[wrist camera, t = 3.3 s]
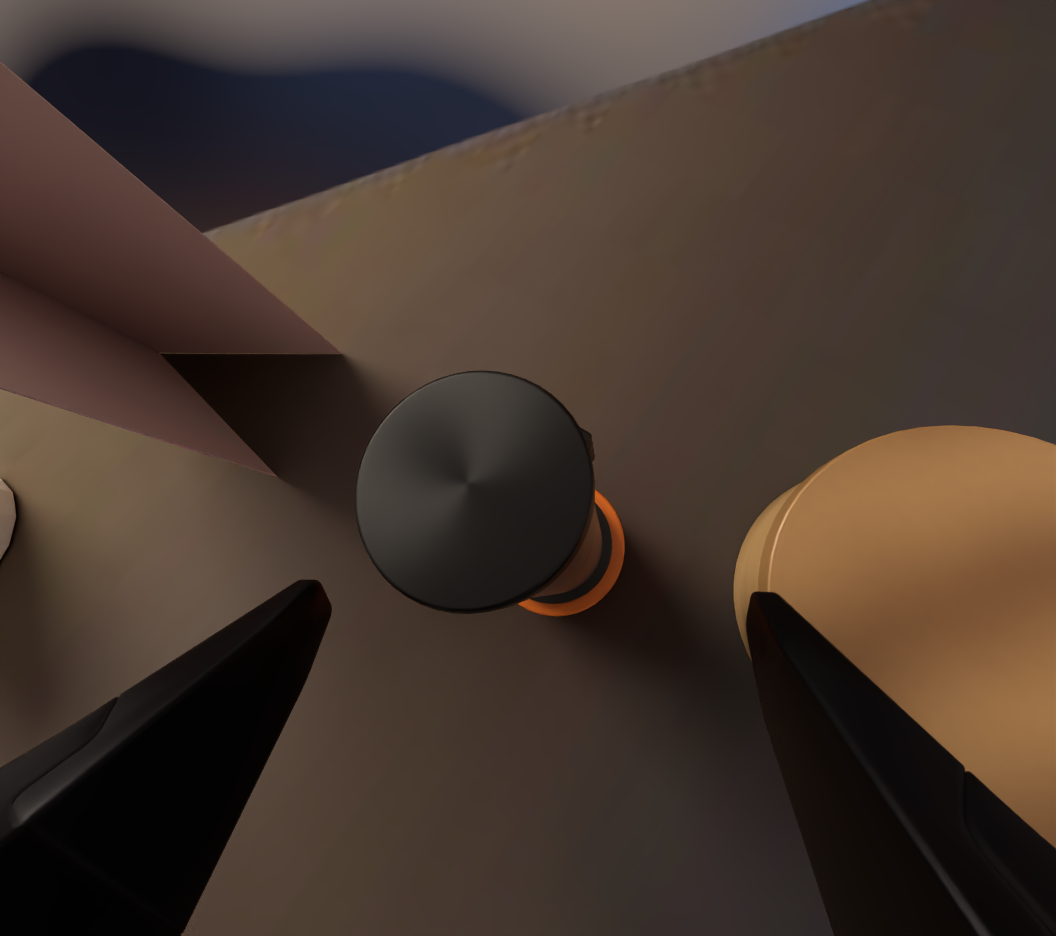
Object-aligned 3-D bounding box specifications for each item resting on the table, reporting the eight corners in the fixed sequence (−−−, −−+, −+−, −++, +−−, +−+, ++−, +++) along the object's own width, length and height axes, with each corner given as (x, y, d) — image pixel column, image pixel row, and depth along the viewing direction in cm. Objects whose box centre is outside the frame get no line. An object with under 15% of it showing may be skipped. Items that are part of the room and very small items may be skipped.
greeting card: (146, 364, 25) (-476, 70, 11) (239, 266, 26) (-235, -137, 11) (264, 490, 22) (-417, 307, 7) (368, 375, 22) (-77, -6, 8)
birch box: (1150, 682, 14) (1384, 724, 10) (851, 833, 14) (951, 937, 10) (913, 416, 17) (1013, 360, 13) (674, 546, 18) (693, 533, 13)
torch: (580, 635, 17) (502, 751, 5) (488, 565, 19) (254, 527, 7) (645, 536, 18) (712, 432, 6) (551, 475, 19) (441, 283, 7)
